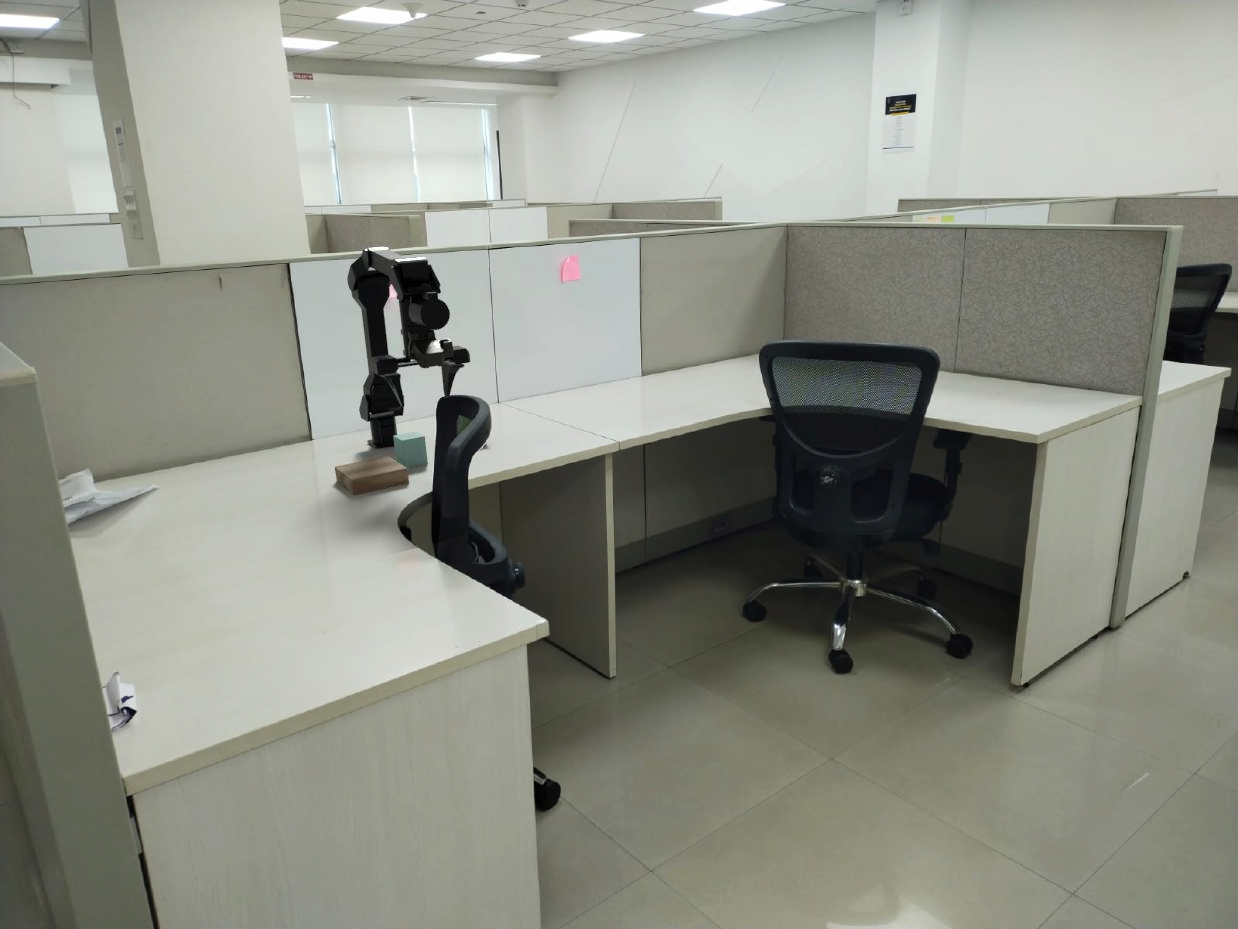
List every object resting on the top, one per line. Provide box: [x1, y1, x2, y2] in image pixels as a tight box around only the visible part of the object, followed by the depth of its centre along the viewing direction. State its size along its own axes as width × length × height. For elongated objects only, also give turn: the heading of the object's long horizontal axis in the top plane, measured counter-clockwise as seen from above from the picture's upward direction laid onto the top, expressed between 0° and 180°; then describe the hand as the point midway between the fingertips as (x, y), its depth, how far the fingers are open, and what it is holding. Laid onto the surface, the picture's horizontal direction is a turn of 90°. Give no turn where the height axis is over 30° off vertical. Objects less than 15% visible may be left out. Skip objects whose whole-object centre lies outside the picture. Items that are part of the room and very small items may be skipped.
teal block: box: [393, 431, 429, 469], centre depth 185 cm, size 5×5×6 cm
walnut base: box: [334, 455, 410, 496], centre depth 174 cm, size 11×11×3 cm
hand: (425, 402), depth 175 cm, fingers open, 9 cm apart
